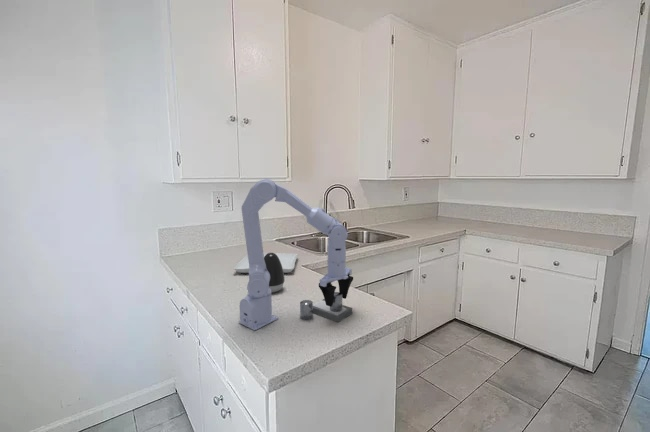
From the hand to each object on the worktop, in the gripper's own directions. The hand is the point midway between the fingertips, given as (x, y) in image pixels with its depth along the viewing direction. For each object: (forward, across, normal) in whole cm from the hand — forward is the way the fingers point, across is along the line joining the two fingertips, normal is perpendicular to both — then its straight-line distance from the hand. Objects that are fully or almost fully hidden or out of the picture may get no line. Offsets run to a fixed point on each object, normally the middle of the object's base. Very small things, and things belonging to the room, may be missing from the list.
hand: (336, 301), depth 100 cm
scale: (+5, +1, +3) cm, 6 cm away
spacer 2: (+3, 0, 0) cm, 3 cm away
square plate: (+6, +22, +57) cm, 62 cm away
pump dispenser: (+5, +2, +33) cm, 33 cm away
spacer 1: (+5, -7, +7) cm, 11 cm away
